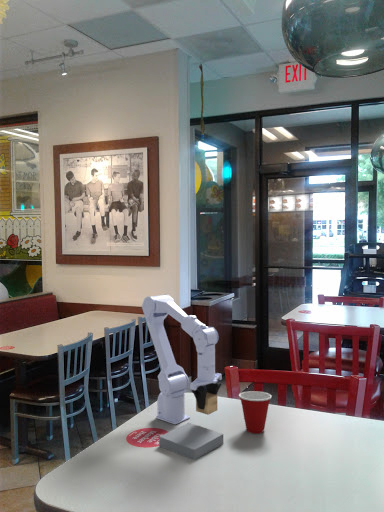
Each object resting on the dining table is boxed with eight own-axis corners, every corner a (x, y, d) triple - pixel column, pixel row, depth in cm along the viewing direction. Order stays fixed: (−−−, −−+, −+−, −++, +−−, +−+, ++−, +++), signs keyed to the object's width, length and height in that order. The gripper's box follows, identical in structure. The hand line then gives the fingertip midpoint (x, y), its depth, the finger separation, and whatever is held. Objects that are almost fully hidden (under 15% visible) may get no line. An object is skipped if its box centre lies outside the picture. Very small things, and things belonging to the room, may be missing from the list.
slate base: (159, 446, 145) (159, 436, 145) (189, 431, 156) (188, 422, 156) (194, 460, 136) (194, 449, 136) (223, 443, 147) (223, 433, 147)
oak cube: (196, 411, 155) (195, 396, 155) (205, 406, 159) (205, 392, 159) (208, 414, 152) (208, 399, 152) (217, 410, 156) (217, 395, 156)
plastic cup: (270, 423, 162) (270, 389, 161) (272, 437, 151) (272, 400, 150) (238, 422, 163) (238, 388, 162) (238, 436, 152) (238, 399, 151)
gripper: (202, 372, 147) (202, 415, 147) (229, 362, 158) (229, 402, 158) (184, 368, 151) (185, 410, 152) (212, 359, 162) (212, 398, 163)
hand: (206, 406), depth 155 cm, fingers closed on oak cube, 5 cm apart
